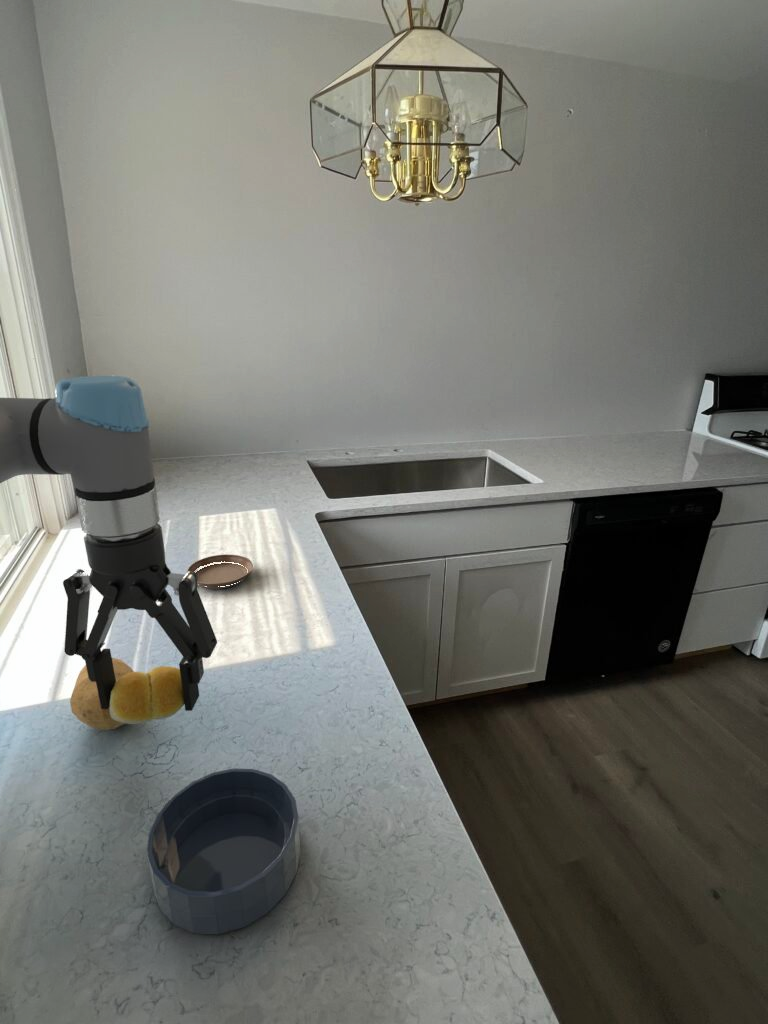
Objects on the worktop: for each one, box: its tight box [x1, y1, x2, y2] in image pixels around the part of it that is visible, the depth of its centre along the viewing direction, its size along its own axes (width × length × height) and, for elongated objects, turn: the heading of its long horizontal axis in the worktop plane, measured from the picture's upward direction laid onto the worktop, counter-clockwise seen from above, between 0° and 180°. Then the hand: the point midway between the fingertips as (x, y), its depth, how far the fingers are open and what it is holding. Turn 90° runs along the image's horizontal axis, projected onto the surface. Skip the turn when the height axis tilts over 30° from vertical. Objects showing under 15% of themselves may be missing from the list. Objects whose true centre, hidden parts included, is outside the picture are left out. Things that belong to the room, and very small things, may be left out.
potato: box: [69, 657, 135, 732], centre depth 84 cm, size 10×14×8 cm
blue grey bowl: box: [146, 767, 301, 935], centre depth 63 cm, size 16×16×6 cm
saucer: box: [186, 553, 254, 590], centre depth 129 cm, size 15×15×3 cm
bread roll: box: [109, 665, 185, 725], centre depth 66 cm, size 8×9×4 cm
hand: (151, 702), depth 66 cm, fingers closed on bread roll, 9 cm apart
